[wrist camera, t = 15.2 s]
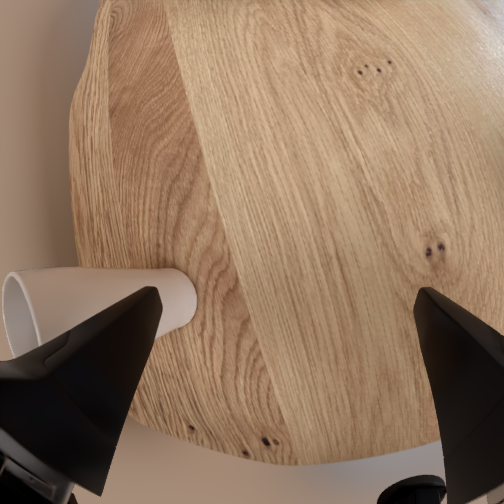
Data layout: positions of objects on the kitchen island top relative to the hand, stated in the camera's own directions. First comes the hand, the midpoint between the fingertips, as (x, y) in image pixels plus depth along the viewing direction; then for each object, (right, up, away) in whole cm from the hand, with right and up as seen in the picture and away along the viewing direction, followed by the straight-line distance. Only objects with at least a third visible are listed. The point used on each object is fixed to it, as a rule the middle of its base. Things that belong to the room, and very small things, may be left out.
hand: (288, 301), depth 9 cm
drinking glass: (-8, -2, +16) cm, 18 cm away
